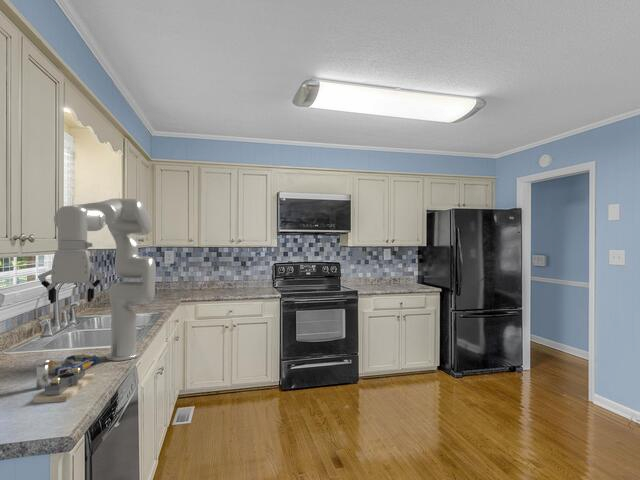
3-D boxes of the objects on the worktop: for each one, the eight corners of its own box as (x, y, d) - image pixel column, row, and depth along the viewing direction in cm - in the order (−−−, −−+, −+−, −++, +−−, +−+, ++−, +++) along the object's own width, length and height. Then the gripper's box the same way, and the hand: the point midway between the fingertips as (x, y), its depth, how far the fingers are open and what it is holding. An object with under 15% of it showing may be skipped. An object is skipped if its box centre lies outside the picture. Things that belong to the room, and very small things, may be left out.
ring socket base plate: (65, 379, 131) (66, 362, 131) (93, 377, 133) (94, 360, 133) (33, 403, 111) (33, 382, 111) (66, 401, 113) (67, 381, 113)
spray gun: (29, 379, 131) (72, 379, 132) (29, 367, 131) (73, 367, 132) (67, 362, 152) (104, 362, 153) (67, 351, 152) (105, 352, 153)
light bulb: (38, 385, 125) (39, 358, 125) (52, 384, 126) (53, 358, 126) (31, 390, 121) (32, 362, 121) (45, 389, 122) (46, 361, 122)
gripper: (106, 246, 121) (105, 299, 121) (43, 246, 115) (42, 301, 115) (102, 246, 114) (101, 302, 114) (34, 246, 108) (33, 305, 108)
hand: (71, 301), depth 115 cm, fingers open, 9 cm apart
